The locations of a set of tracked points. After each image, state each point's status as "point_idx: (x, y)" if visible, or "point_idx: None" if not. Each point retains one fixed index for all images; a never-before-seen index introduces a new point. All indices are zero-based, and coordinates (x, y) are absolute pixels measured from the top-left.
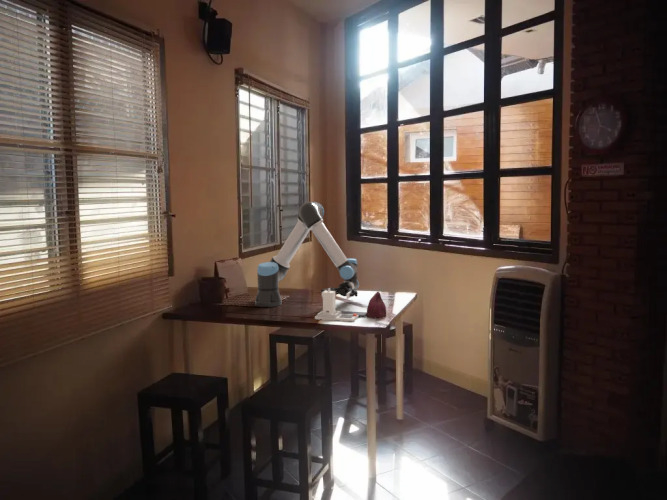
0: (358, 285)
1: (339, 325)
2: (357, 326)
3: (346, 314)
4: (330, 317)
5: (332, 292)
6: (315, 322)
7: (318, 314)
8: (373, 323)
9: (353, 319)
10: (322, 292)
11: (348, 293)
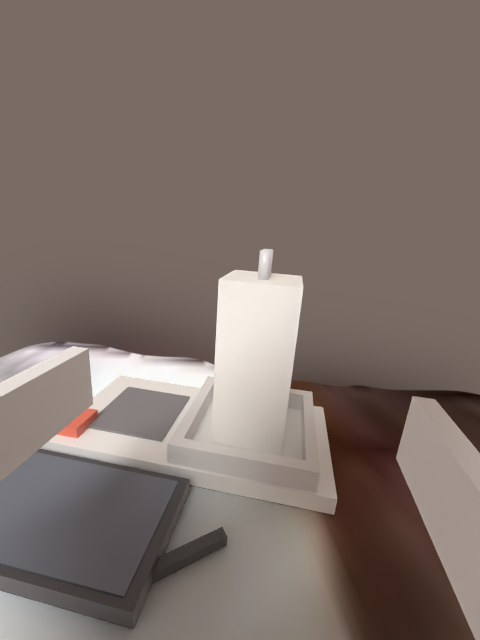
0: None
1: (191, 359)
2: (126, 352)
3: (129, 448)
4: None
5: (236, 272)
6: (293, 383)
7: (304, 393)
8: None
9: (120, 376)
10: (419, 399)
11: (53, 357)
